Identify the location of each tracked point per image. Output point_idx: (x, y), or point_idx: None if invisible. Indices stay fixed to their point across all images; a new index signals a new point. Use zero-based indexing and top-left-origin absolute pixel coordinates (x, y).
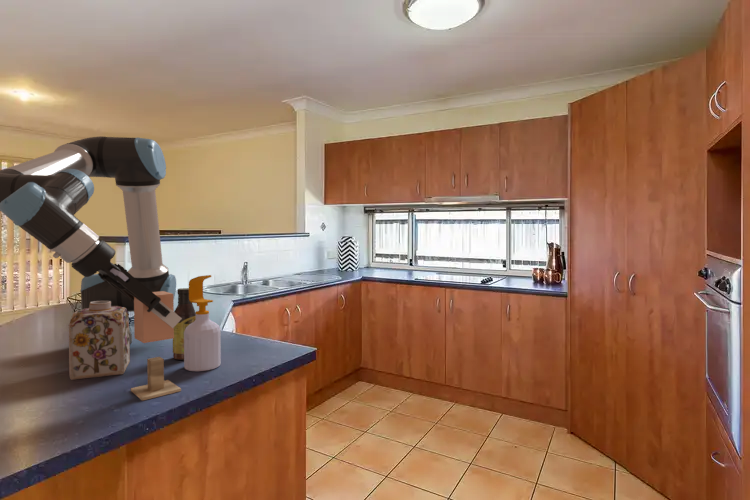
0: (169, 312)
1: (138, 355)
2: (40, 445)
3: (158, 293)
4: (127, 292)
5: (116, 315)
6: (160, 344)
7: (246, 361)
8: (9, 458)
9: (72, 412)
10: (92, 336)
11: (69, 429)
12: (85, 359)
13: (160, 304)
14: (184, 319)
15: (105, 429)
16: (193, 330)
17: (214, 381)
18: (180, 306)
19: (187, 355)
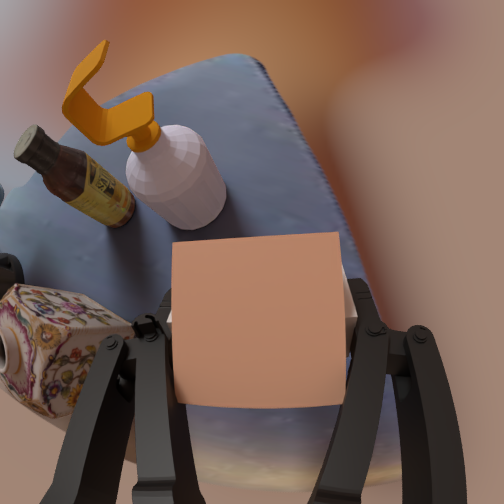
0: (360, 281)
1: (62, 269)
2: (372, 465)
3: (266, 299)
4: (189, 440)
5: (47, 338)
6: (41, 223)
7: (223, 131)
8: (380, 483)
9: (282, 436)
10: (76, 381)
11: None
12: None
13: (380, 320)
14: (84, 179)
15: (387, 406)
16: (179, 183)
17: (296, 210)
18: (54, 172)
19: (186, 218)
